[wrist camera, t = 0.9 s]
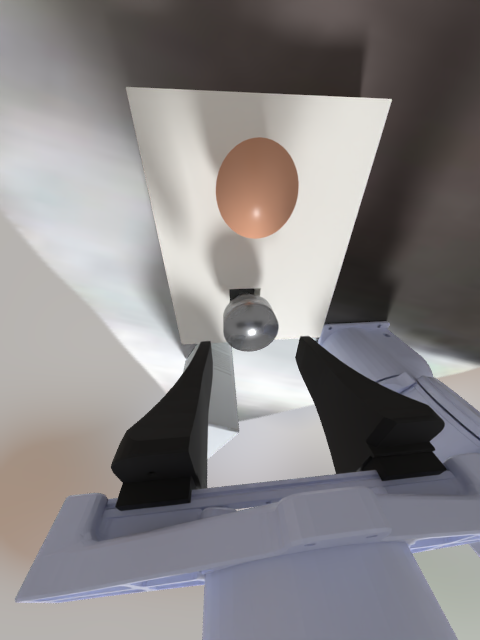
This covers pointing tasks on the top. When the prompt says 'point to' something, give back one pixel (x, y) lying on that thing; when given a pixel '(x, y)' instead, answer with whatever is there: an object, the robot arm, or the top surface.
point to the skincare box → (221, 398)
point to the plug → (249, 322)
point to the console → (204, 216)
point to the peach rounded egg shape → (257, 188)
